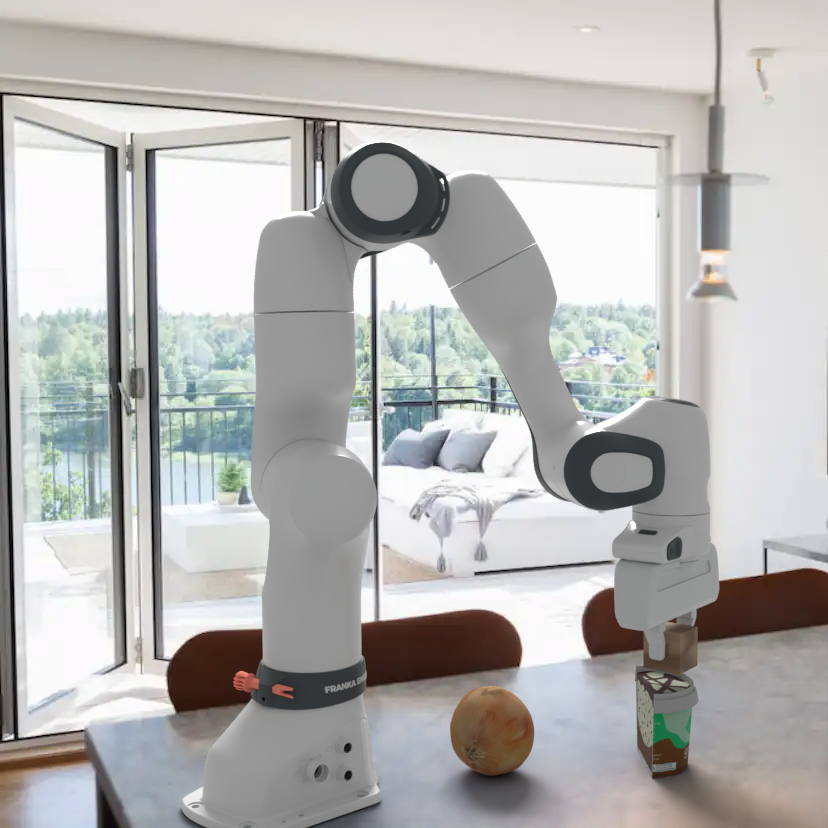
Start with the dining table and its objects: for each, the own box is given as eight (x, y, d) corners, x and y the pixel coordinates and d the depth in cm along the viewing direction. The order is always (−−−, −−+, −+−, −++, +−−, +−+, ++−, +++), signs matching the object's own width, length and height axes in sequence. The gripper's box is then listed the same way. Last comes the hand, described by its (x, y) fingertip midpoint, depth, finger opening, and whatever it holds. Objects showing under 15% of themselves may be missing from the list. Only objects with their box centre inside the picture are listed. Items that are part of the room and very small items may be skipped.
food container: (709, 783, 123) (710, 695, 122) (654, 783, 123) (654, 695, 122) (684, 744, 135) (685, 664, 134) (634, 744, 135) (634, 664, 135)
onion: (544, 762, 129) (544, 679, 129) (520, 794, 120) (520, 704, 120) (467, 751, 133) (466, 670, 133) (438, 782, 124) (437, 695, 123)
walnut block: (680, 674, 125) (680, 634, 125) (643, 667, 128) (643, 628, 128) (697, 665, 129) (697, 626, 128) (661, 658, 132) (661, 620, 131)
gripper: (684, 521, 137) (684, 630, 138) (604, 544, 122) (603, 667, 122) (732, 526, 134) (732, 638, 134) (656, 550, 118) (655, 677, 118)
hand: (670, 652), depth 128 cm, fingers closed on walnut block, 4 cm apart
